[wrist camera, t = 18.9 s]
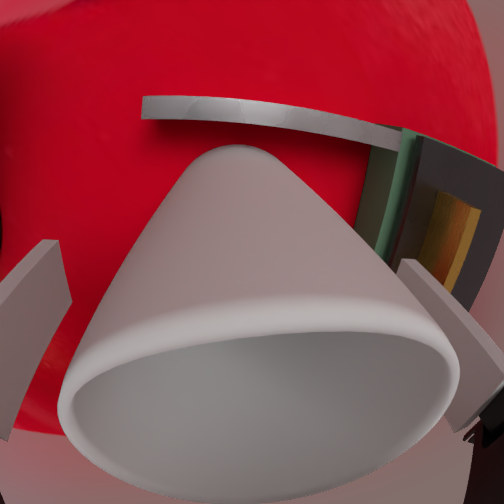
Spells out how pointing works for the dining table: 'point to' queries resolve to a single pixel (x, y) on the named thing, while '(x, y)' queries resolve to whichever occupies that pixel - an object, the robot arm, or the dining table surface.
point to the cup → (253, 346)
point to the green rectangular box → (386, 191)
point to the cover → (450, 218)
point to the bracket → (269, 117)
